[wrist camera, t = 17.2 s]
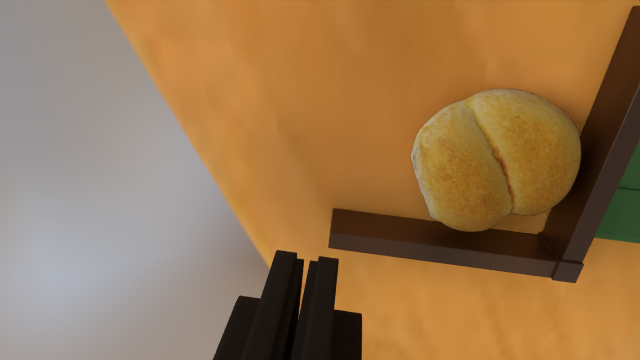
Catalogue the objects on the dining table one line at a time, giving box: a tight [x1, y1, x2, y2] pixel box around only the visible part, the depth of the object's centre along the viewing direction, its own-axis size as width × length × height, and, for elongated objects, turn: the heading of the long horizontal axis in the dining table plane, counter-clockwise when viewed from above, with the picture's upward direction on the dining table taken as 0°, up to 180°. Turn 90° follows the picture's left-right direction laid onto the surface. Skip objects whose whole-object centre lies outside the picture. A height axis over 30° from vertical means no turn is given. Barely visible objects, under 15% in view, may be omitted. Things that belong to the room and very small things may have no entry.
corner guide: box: [328, 6, 640, 283], centre depth 23 cm, size 15×15×3 cm
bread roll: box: [411, 89, 581, 232], centre depth 23 cm, size 8×9×4 cm
